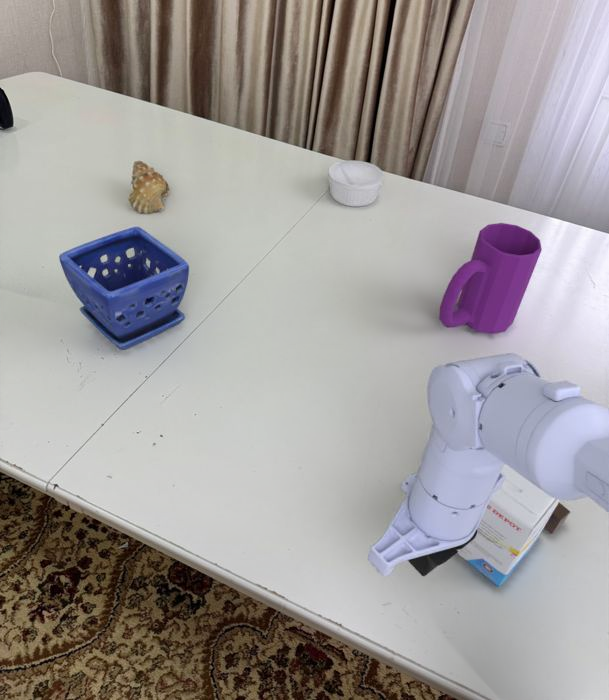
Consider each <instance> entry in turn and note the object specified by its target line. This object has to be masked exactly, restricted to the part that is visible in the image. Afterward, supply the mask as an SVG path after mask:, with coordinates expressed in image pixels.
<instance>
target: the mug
mask: <svg viewBox="0 0 609 700" xmlns="http://www.w3.org/2000/svg"><path fill="white" fill-rule="evenodd" d="M541 253H542V243H541V239H539V237H537V236H536V235H535V234H534V233H533V232H532V231H531V230H529V229H527V228H524V227H521V226H520V225H517V224H511V223H505V222H497V223H489V224H487V225H485V226H484V227H483V228H481V229H480V230H479V232H478V236H477V239H476V242H475V245H474V249H473V252H472V255H471V259H470V260H469V261H467V262H465V263H463V264H462V265H461V266H460V267H459V268H458V269H456V271H455V273H453V275H452V277H451V279H450V281H449V283H448V284H447V287H446V289H445V291H444V294H443V296H442V299H441V303H440V307H439V313H438V314H439V315H438V320H439V321H440V322H441V323H442V325H443V326H444V327H445V328H448V329H449V328H451V329H453V328H457V327H461V326H463V325H466V326H468V327H469V328H471V329H472V330H473V331H476V332H478V333H484V334H489V335H495V334H498V333H504V332H506V331H507V330H508V329H509V328H510V327H511V326H512V325H513V324H514V322H515V319H516V317H517V314H518V311H519V309H520V307H521V304H522V301H523V299H524V296H525V294H526V292H527V288H528V286H529V284H530V281H531V278H532V276H533V273H534V271H535V269H536V265H537V263H538V260H539V258H540V256H541ZM455 307H456V310H455Z"/></svg>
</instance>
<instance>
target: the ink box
mask: <svg viewBox="0 0 609 700" xmlns="http://www.w3.org/2000/svg"><path fill="white" fill-rule="evenodd" d="M501 472H502V473H503V474H504V475H505V476H506V478H505V480H504V482H503V484H502V486H501V488H500V489H499V490H498V491H497V492H495V493H493V495H492V497H491V500H490V502H489V504H488V506H487V508H486V510H485V512H484V514H483V517H482V519H481V521H480V523H479V525H478V527H477V535H476V537H475V539H474V540H472V541H471V542H470V543H469V544H467V545H466V546H465V547H464V548H462V549H458V550H457V551H458V553H456V554H457V555H458V556H459V557H461V558H462V559H463V560H465V561H466V562H467V563H468V564H470V565H471V566H472V567H473V568H475V569H476V570H477V571H478V572H480V573H481V574H482V575H483V576H484V577H486V578H487V579H488V580H490V581H491V582H492V583H493V584H494V585H495V586H497V587H501V586H502V585H503V584H504V583H505V582H506V580H507V579H508V578H509V576H511V574H513V572H514V571H515V569H516V568H517V567H518V566H519V564H521V562H522V561H523V560H524V558H526V556H527V555H528V553H529V552H530V550H531V549H532V548H533V546H534V545H535V543H536V542H537V541H538V539H539V537H540V536H541V534H542V532H543V530H544V529H545V528H544V527H545V525H546V523H547V521H548V520H549V518H550V516H551V515H552V513H553V511H554V510H555V508H556V506H557V505H558V503H559V502H560V501H561V500H559V499H556V498H553V497H551V496H549V495H548V494H547V493H545V492H544V491H543V490H541V489H540V488H538V487H537V486H535V485H534V484H532V483H531V482H530V481H528V480H527V479H525V478H524V477H523V476H521V475H520V474H518V473H517V472H516V471H514V470H513V469H511V468H510V467H509V466H507V465H506V464H504V466H503V468H502V470H501Z"/></svg>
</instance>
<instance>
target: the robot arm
mask: <svg viewBox="0 0 609 700" xmlns="http://www.w3.org/2000/svg"><path fill="white" fill-rule="evenodd" d="M426 388H427V390H426V391H427V393H426V395H427V405H428V412H429V415H430V417H431V419H430V420H431V421H432V426H431V429H430V432H429V436H428V439H427V442H426V445H425V448H424V451H423V454H422V457H421V460H420V464H419V467H418V470H417V473H412V474H411V475H410V476H408V477H406V478H405V479H404V480H403V481H402V482H401V485H400V489H401V490H402V492H403V493H404V494H405V495H406V496H405V498H404V500H403V501H402V504H401V505H400V507H399V509H398V510H397V512H396V513H395V515H394V516H393V518H392V520H391V521H390V523H389V525H388V527H387V529H386V530H385V531H384V533H383V535H382V536H381V537H380V538H379V539H378V541H376V542H375V543H374V544H373V545H371V546H370V549H369V553H368V556H367V562H369V563H370V564H371V565H372V567H373V568H374V569H375V570H376V571H377V572H378V573H379V575H380V576H381V577H383V578H384V579H385V578H386V577H388V576H389V575H391V574H392V573H393V571H394V568H395V566H396V565H398V564H400V563H403V562H406V561H407V562H408V563H409V564H410V565H411V566H412V567H413V568H414V569H415V570H416V571H417V573H419V575H420V576H421V577H426V576H427V575H428V574H430V573H431V572H432V571H434V569H437V567H439V566H441V565H443V564H445V563H446V562H448V561H449V560H451V558H453V557H454V556H455V555H456V554H457V553H458V551H457V550H458V549H462V548H464V547H465V546H466V545H467V544H469V543H470V542H471V541H472V540H474V539H475V537H476V535H477V527H478V525H479V523H480V521H481V519H482V517H483V514H484V512H485V510H486V508H487V506H488V504H489V502H490V500H491V497H492V495H493V493H495V492H497V491H498V490H499V489H500V488H501V486H502V484H503V482H504V480H505V478H506V476H505V475H504V474H503V473H502V472H501V470H502V468H503V466H504V464H506V465H507V466H509V467H510V468H511V469H513V470H514V471H516V472H517V473H518V474H520V475H521V476H523V477H524V478H525V479H527V480H528V481H530V482H531V483H532V484H534V485H535V486H537V487H538V488H540V489H541V490H543V491H544V492H545V493H547V494H548V495H549V496H551V497H553V498H556V499H559V500H560V501H566V502H567V501H568V502H569V501H570V502H571V501H578V500H583V499H585V498H589V499H590V500H592V501H593V502H594V503H596V504H597V505H598V506H599V507H600V508H602V509H603V510H604V511H606V512H607V513H608V514H609V408H608V407H606V406H604V405H602V404H599V403H597V402H595V401H593V400H591V399H589V398H586V397H585V396H582V395H581V387H580V386H579V385H578V384H575V383H573V382H571V381H569V380H561V381H554V382H551V381H549V380H547V379H544V378H543V377H542V374H541V372H540V371H539V369H538V368H537V367H536V366H535V365H534V364H533V363H532V362H531V361H529V360H528V359H525V358H523V357H522V356H520V355H518V354H516V353H513V352H512V353H510V352H508V353H502V354H496V355H490V356H483V357H478V358H477V357H476V358H470V359H465V360H458V361H452V362H447V363H445V364H444V365H437V366H435V367H434V368H433V369H432V371H431V372H430V374H429V377H428V381H427V387H426Z"/></svg>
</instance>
